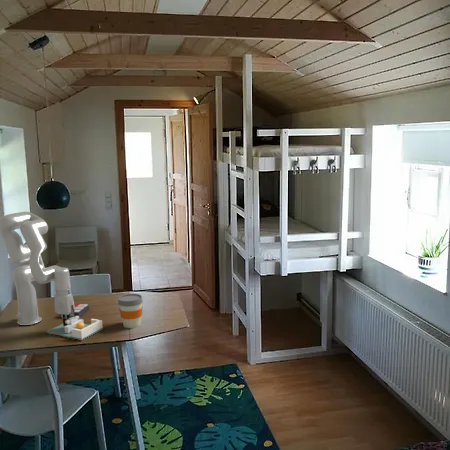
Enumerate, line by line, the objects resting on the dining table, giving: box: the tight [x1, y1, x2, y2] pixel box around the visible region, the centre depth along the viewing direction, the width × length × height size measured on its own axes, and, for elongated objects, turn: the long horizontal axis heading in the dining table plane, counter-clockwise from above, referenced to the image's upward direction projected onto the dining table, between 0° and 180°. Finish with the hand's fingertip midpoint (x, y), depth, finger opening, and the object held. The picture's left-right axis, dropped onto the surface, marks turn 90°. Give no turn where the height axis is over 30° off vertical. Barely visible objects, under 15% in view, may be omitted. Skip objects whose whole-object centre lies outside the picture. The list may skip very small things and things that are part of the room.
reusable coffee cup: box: [117, 293, 144, 329], centre depth 253 cm, size 13×13×15 cm
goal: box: [71, 318, 104, 339], centre depth 244 cm, size 6×15×4 cm, turn 153°
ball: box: [76, 322, 85, 330], centre depth 246 cm, size 4×4×4 cm
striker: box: [64, 316, 85, 333], centre depth 248 cm, size 4×11×6 cm, turn 153°
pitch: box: [45, 323, 104, 341], centre depth 248 cm, size 24×16×1 cm, turn 63°
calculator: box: [59, 303, 90, 319], centre depth 274 cm, size 11×4×15 cm
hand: (66, 325), depth 250 cm, fingers closed
